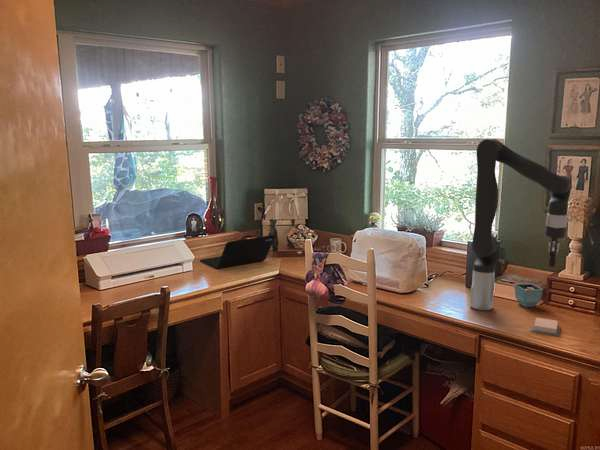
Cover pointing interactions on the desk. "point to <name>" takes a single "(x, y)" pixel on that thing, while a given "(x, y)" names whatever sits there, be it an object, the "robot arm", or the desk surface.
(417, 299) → the desk surface
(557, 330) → the mat
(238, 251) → the laptop
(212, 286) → the desk surface
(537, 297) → the flower pot
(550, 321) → the tile
